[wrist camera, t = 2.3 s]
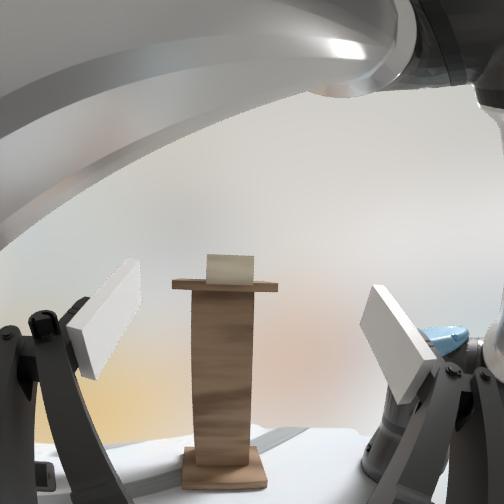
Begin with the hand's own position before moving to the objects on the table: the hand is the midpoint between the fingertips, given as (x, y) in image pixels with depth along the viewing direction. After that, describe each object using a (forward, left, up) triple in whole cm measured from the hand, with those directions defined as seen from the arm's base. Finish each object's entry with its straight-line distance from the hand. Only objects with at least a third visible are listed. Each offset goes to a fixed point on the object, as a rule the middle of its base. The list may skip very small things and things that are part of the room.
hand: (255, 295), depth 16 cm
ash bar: (+19, -4, 0) cm, 19 cm away
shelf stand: (+22, -5, -30) cm, 37 cm away
